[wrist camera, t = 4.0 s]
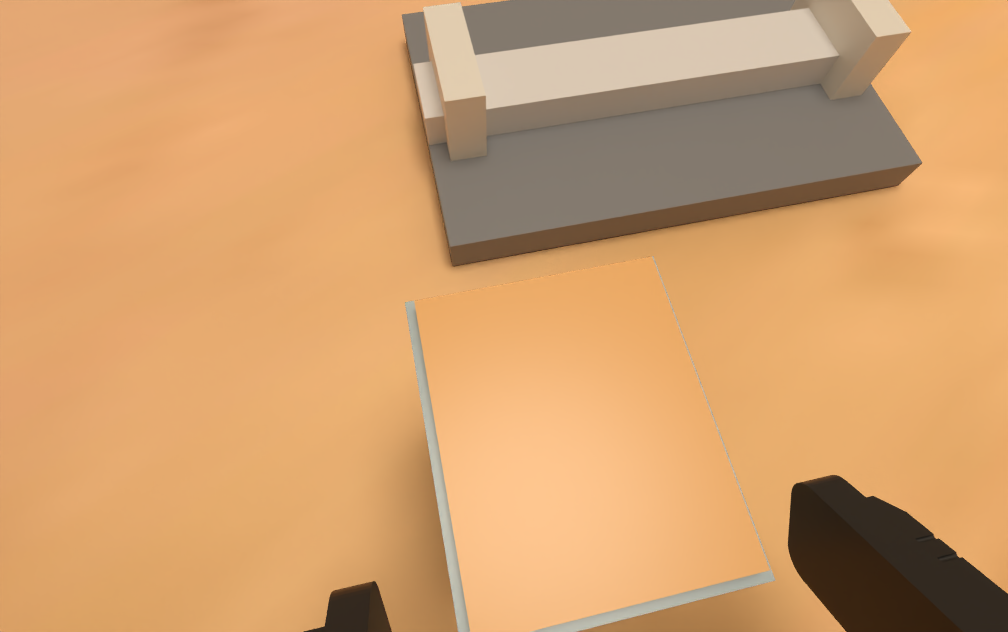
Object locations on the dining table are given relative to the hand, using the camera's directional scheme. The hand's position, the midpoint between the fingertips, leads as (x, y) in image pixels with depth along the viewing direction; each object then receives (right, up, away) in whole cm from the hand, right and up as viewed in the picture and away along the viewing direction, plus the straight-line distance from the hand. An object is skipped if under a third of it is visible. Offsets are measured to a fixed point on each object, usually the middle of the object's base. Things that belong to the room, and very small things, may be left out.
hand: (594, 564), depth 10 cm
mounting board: (+5, +14, +15) cm, 22 cm away
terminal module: (-1, -1, +8) cm, 9 cm away
